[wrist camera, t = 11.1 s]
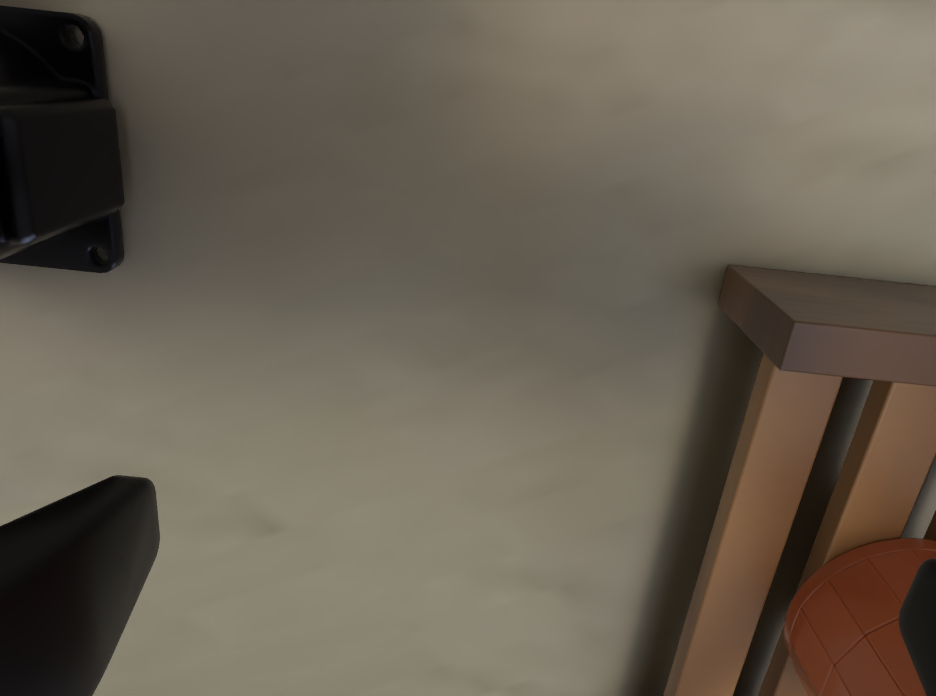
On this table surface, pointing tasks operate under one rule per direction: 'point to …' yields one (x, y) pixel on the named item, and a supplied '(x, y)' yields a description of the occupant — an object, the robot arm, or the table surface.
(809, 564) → the rack
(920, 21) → the table surface
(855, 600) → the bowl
